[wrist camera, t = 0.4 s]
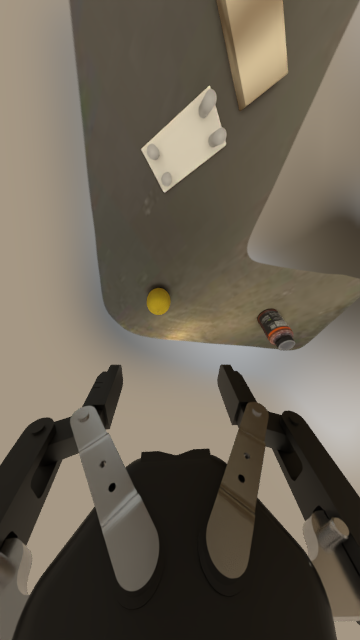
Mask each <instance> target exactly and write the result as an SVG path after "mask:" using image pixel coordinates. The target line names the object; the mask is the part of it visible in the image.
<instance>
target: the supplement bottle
mask: <svg viewBox="0 0 360 640" xmlns="http://www.w3.org/2000/svg"><path fill="white" fill-rule="evenodd" d="M258 322H259V324H260V326H261V327H262V329H263V331H264V333H265V334H266V336H267V338H268V340H269V341H270V343H272V344H273V345H276V346H277V347H278V349H279V350H288V349H291V348H292V347H293V346H294V345H295V341H294V340H293V331H292V330H291V329H290V327H289V326H288V325H287V323H286V322H285V321H284V319H283V318H282V316H281V315H280V314H279V313H278V311H276V310H274V309H268V310H266V311H264V312H262V313H261V314H260V315H259V317H258Z"/></svg>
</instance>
